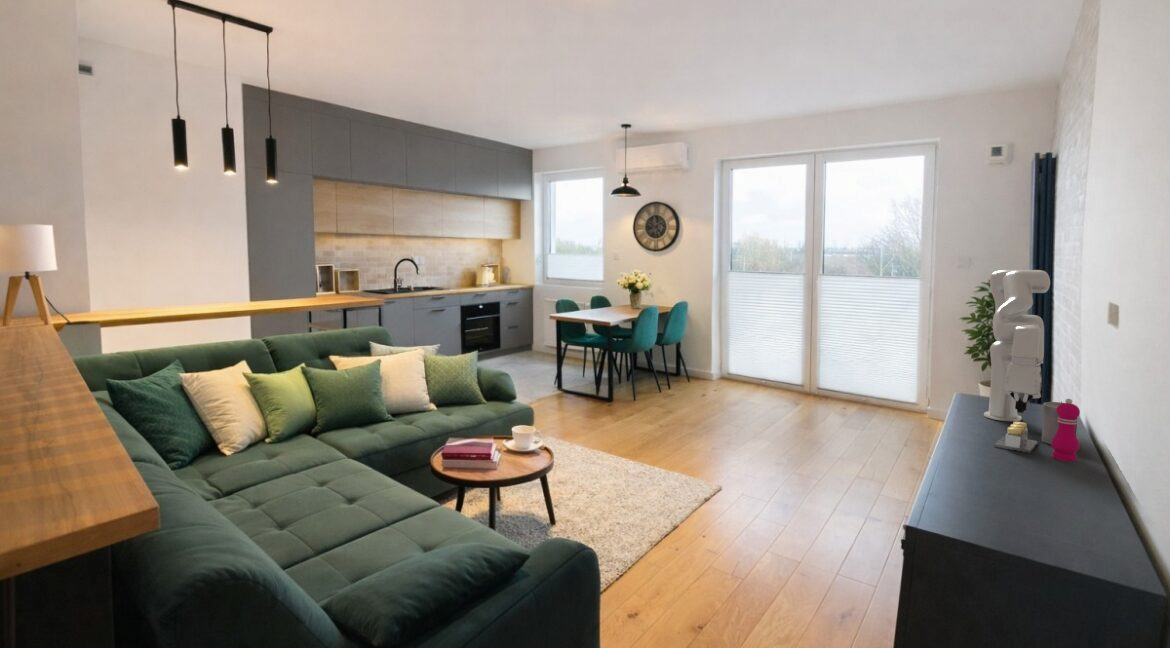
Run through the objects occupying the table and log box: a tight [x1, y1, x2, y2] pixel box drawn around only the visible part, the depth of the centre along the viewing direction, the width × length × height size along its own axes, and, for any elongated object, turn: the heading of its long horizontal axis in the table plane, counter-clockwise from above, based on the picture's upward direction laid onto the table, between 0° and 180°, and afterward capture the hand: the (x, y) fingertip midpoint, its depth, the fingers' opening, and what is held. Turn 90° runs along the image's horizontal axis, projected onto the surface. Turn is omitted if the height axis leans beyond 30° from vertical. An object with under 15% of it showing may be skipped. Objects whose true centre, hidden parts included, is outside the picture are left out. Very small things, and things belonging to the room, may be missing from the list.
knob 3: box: [1012, 421, 1028, 429], centre depth 216 cm, size 4×4×6 cm
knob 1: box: [1009, 423, 1024, 431], centre depth 213 cm, size 4×4×6 cm
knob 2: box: [1006, 426, 1022, 436], centre depth 210 cm, size 4×4×6 cm
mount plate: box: [994, 427, 1038, 454], centre depth 213 cm, size 14×10×5 cm
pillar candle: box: [1041, 401, 1078, 445], centre depth 215 cm, size 10×10×15 cm
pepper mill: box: [1050, 398, 1081, 462], centre depth 199 cm, size 7×7×20 cm
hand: (1020, 411), depth 216 cm, fingers closed
